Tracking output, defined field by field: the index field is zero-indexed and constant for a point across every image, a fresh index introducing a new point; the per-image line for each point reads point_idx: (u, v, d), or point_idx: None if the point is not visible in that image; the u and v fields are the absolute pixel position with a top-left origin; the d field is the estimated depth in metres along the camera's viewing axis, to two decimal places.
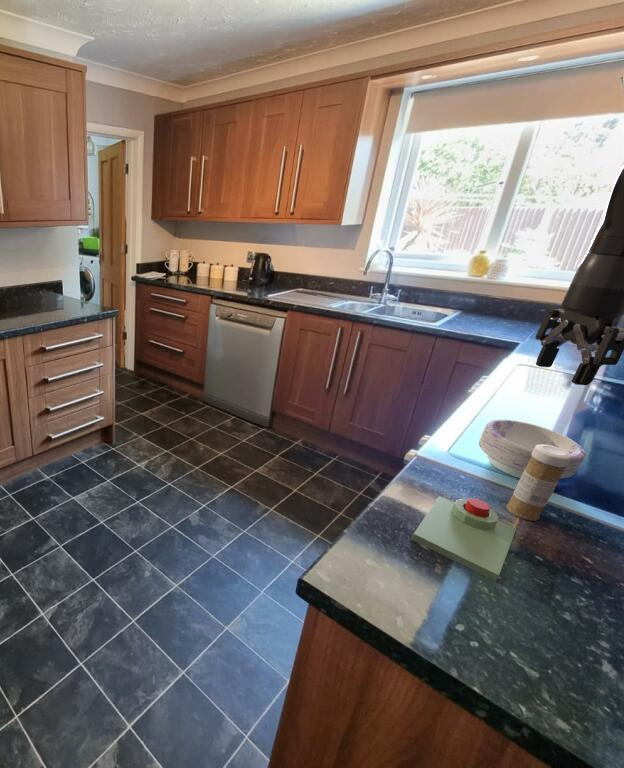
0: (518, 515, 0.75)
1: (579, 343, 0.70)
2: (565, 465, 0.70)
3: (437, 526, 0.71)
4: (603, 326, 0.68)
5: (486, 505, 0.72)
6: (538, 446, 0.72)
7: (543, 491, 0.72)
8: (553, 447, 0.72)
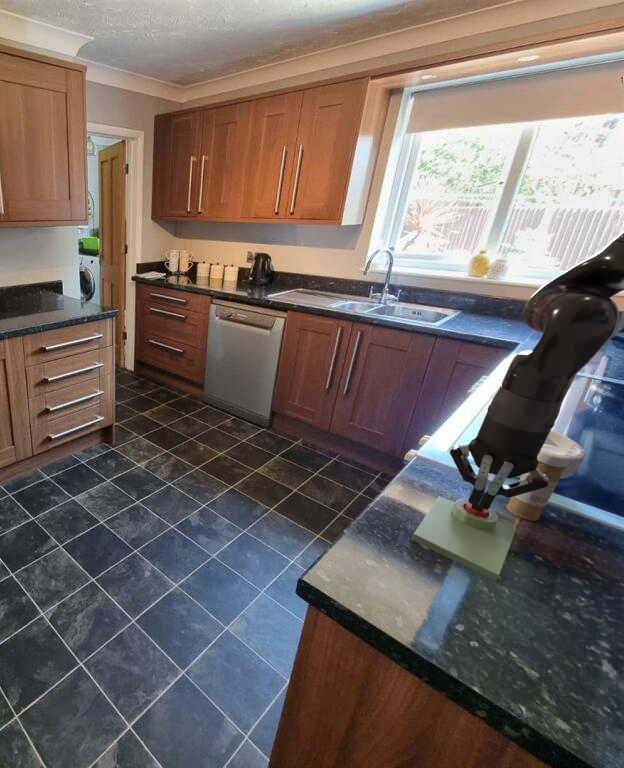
0: (518, 515, 0.75)
1: (498, 478, 0.68)
2: (565, 465, 0.70)
3: (437, 526, 0.71)
4: (534, 469, 0.65)
5: None
6: None
7: (543, 491, 0.72)
8: (553, 447, 0.72)
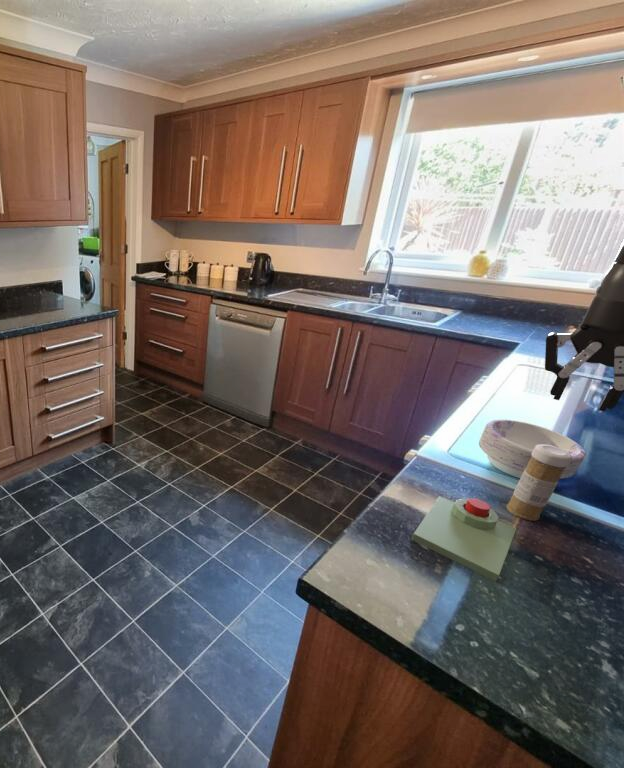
0: (518, 515, 0.75)
1: (618, 367, 0.62)
2: (565, 465, 0.70)
3: (437, 526, 0.71)
4: None
5: (486, 505, 0.72)
6: (538, 446, 0.72)
7: (543, 491, 0.72)
8: (553, 447, 0.72)
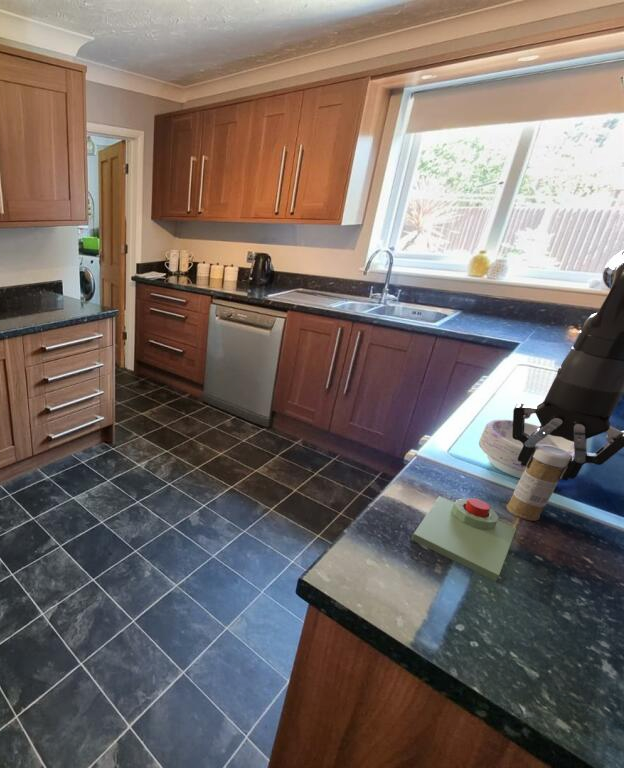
0: (518, 515, 0.75)
1: (577, 443, 0.68)
2: (565, 465, 0.70)
3: (437, 526, 0.71)
4: (608, 428, 0.65)
5: (486, 505, 0.72)
6: (538, 446, 0.72)
7: (543, 491, 0.72)
8: (553, 447, 0.72)
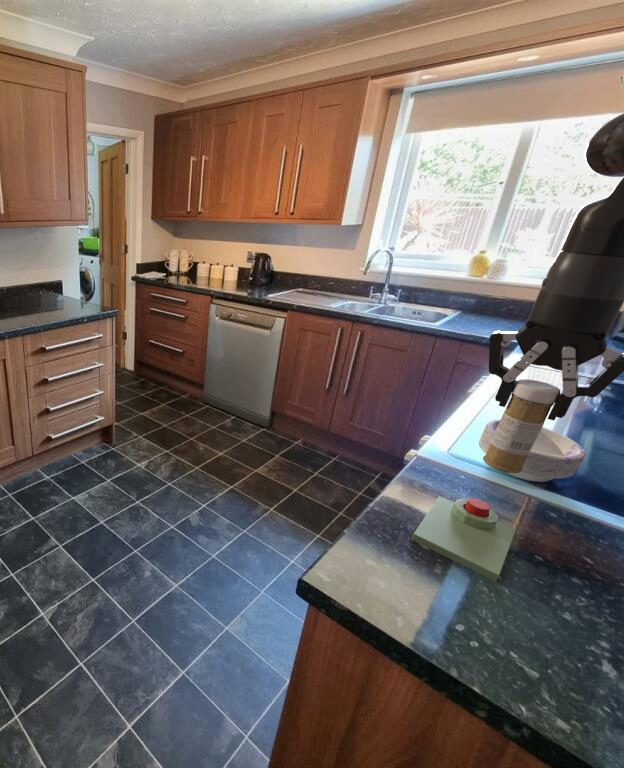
0: (496, 467, 0.62)
1: (566, 371, 0.55)
2: (552, 401, 0.57)
3: (437, 526, 0.71)
4: (605, 349, 0.52)
5: (486, 505, 0.72)
6: (520, 381, 0.59)
7: (526, 435, 0.59)
8: (538, 382, 0.59)
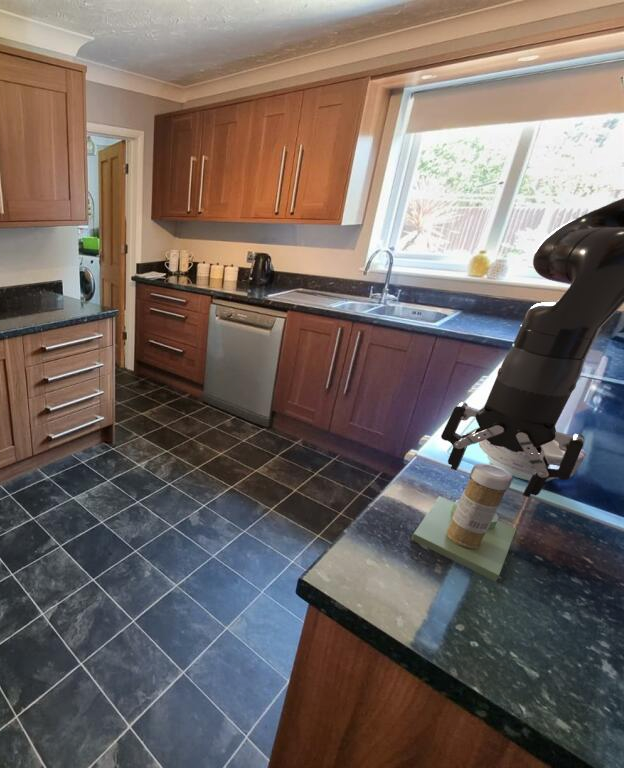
0: (457, 542, 0.67)
1: (529, 454, 0.58)
2: (505, 488, 0.61)
3: (437, 526, 0.71)
4: (555, 434, 0.56)
5: None
6: (477, 465, 0.64)
7: (482, 516, 0.64)
8: (493, 467, 0.64)
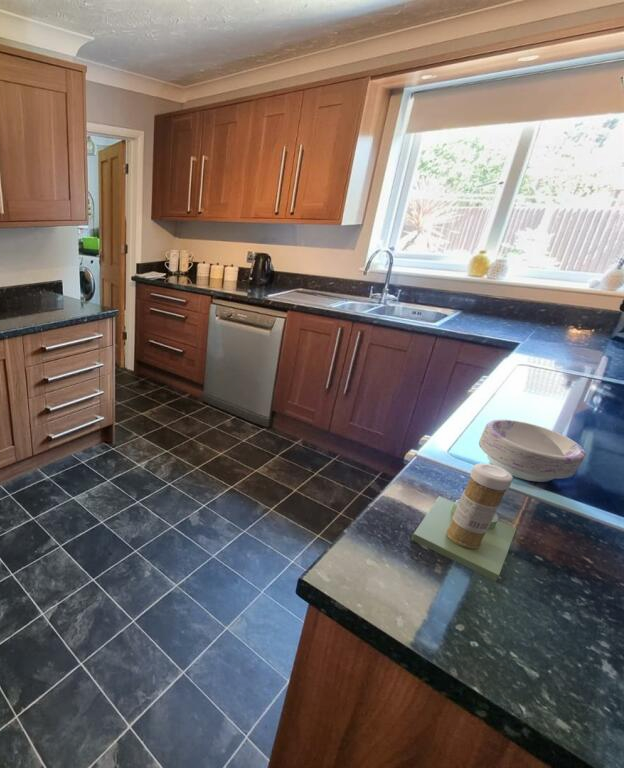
0: (457, 542, 0.67)
1: None
2: (505, 488, 0.61)
3: (437, 526, 0.71)
4: None
5: None
6: (477, 465, 0.64)
7: (482, 516, 0.64)
8: (493, 467, 0.64)
